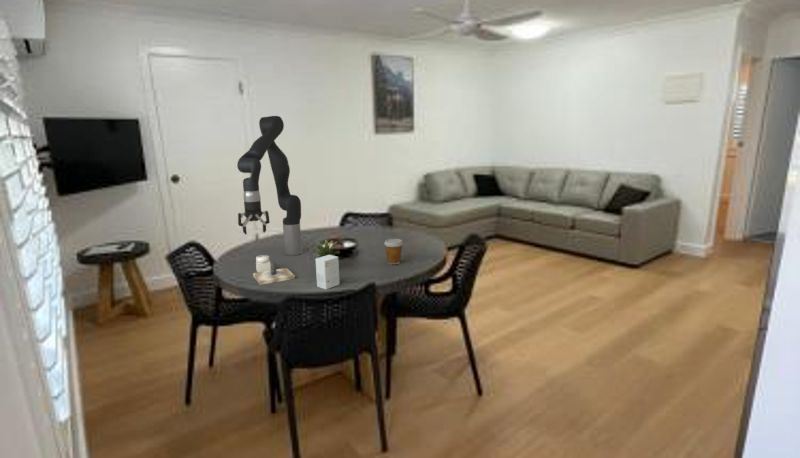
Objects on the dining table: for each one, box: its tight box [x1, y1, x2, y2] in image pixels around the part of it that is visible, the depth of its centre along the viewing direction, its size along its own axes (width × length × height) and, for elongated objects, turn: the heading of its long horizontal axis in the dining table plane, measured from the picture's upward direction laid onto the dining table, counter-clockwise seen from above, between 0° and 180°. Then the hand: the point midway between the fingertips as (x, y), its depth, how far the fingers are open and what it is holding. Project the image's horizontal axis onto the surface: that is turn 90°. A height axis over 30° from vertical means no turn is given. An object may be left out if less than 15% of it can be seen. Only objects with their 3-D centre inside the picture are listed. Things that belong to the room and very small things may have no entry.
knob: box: [255, 254, 271, 273], centre depth 218 cm, size 6×6×8 cm
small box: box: [315, 254, 340, 290], centre depth 196 cm, size 8×6×13 cm
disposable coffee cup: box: [383, 238, 404, 263], centre depth 228 cm, size 10×10×12 cm
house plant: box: [315, 238, 341, 258], centre depth 214 cm, size 14×14×16 cm
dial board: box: [252, 261, 296, 286], centre depth 209 cm, size 16×14×8 cm
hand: (254, 233), depth 215 cm, fingers open, 8 cm apart
